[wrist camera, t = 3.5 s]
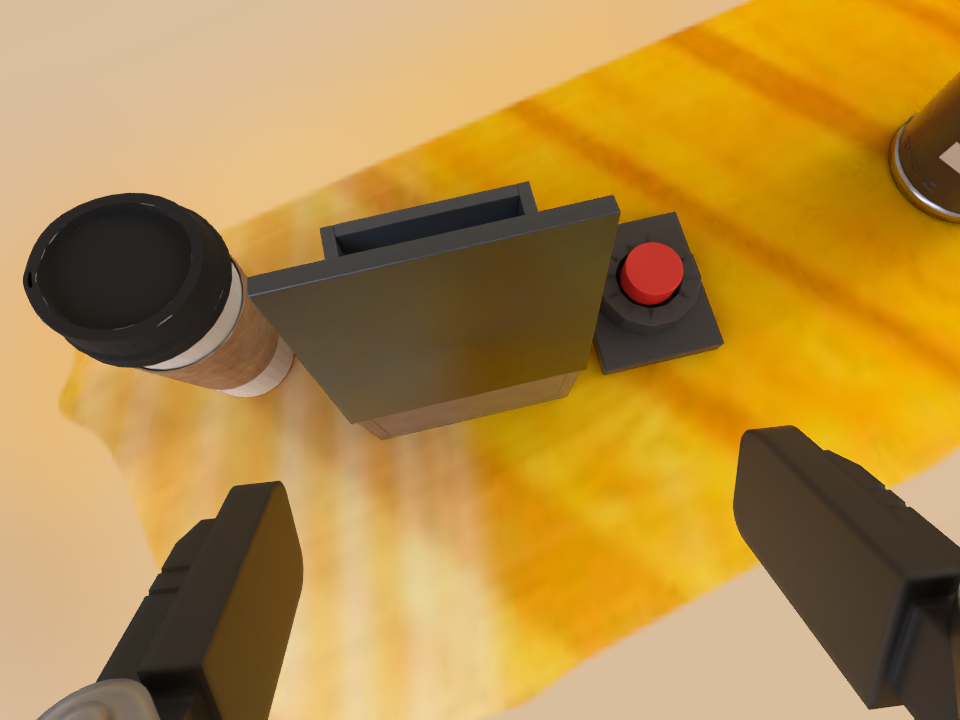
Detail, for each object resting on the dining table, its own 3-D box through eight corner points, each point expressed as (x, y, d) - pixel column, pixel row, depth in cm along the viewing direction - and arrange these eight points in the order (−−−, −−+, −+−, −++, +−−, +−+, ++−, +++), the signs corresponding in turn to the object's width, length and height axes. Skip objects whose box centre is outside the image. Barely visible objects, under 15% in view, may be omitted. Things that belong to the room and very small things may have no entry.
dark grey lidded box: (352, 281, 41) (319, 227, 34) (524, 242, 42) (529, 180, 34) (381, 440, 38) (352, 419, 31) (567, 396, 39) (583, 365, 31)
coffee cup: (184, 315, 41) (14, 201, 27) (302, 286, 41) (195, 159, 27) (197, 429, 39) (18, 372, 24) (321, 399, 39) (217, 324, 25)
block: (671, 219, 42) (683, 196, 39) (718, 348, 39) (735, 334, 36) (563, 244, 42) (568, 223, 39) (603, 375, 39) (611, 363, 36)
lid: (245, 276, 19) (246, 296, 19) (614, 193, 20) (621, 211, 19) (349, 410, 30) (351, 424, 30) (582, 356, 31) (586, 369, 31)
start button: (665, 248, 38) (673, 236, 37) (683, 298, 37) (691, 287, 36) (612, 260, 38) (618, 248, 37) (629, 310, 37) (635, 300, 36)
